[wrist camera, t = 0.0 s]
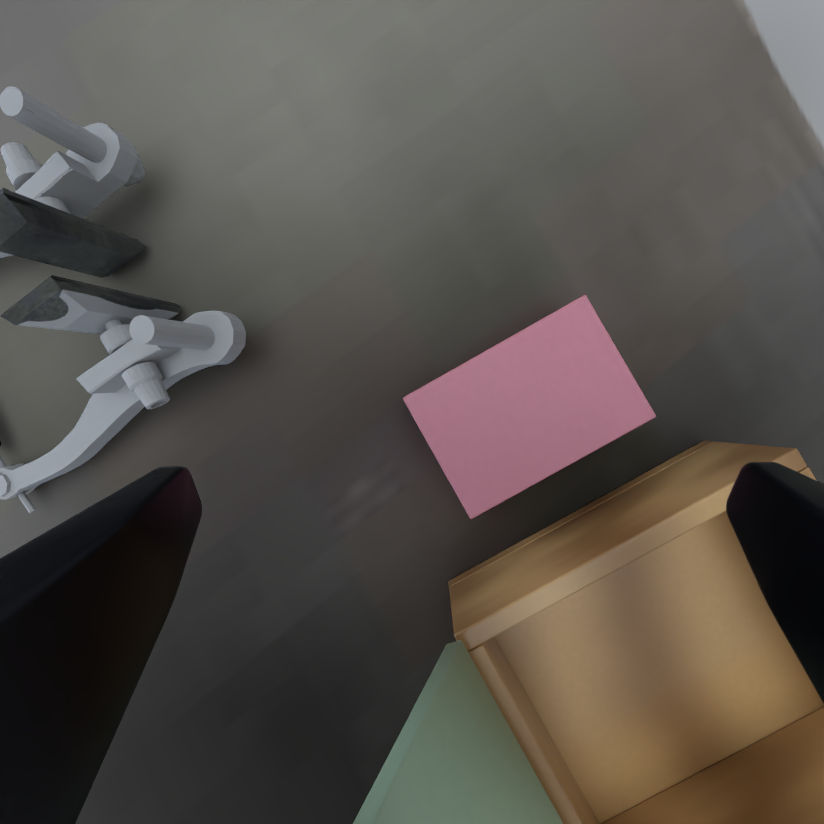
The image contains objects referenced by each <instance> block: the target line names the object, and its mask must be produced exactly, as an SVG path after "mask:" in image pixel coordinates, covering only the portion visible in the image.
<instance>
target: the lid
mask: <svg viewBox="0 0 824 824" xmlns="http://www.w3.org/2000/svg"><path fill="white" fill-rule="evenodd" d="M353 824H563V822H562V820H561V818H560V816H559V815H558V813H557V811H556V809H555V807H554V806H553V804H552V802H551V800H550V799H549V797H548V795H547V793H546V791H545V790H544V788H543V786H542V784H541V782H540V781H539V779H538V777H537V775H536V773H535V772H534V770H533V768H532V766H531V764H530V763H529V761H528V759H527V757H526V755H525V754H524V752H523V750H522V748H521V746H520V745H519V743H518V741H517V739H516V737H515V736H514V734H513V732H512V730H511V728H510V727H509V725H508V723H507V721H506V719H505V718H504V716H503V714H502V712H501V710H500V709H499V707H498V705H497V703H496V701H495V700H494V698H493V696H492V694H491V693H490V691H489V689H488V687H487V685H486V684H485V682H484V680H483V678H482V676H481V675H480V673H479V671H478V669H477V667H476V666H475V664H474V662H473V660H472V658H471V657H470V655H469V653H468V651H467V649H466V648H465V646H464V644H463V642H462V641H461V640H459V641H455V642H452V643H448V644H446V646H445V648H444V650H443V651H442V653H441V655H440V657H439V659H438V661H437V663H436V665H435V667H434V669H433V671H432V673H431V675H430V676H429V678H428V680H427V682H426V684H425V686H424V688H423V690H422V692H421V694H420V696H419V698H418V700H417V701H416V703H415V705H414V707H413V709H412V711H411V713H410V715H409V717H408V719H407V721H406V723H405V725H404V726H403V728H402V730H401V732H400V734H399V736H398V738H397V740H396V742H395V744H394V746H393V748H392V750H391V751H390V753H389V755H388V757H387V759H386V761H385V763H384V765H383V767H382V769H381V771H380V773H379V775H378V776H377V778H376V780H375V782H374V784H373V786H372V788H371V790H370V792H369V794H368V796H367V798H366V800H365V801H364V803H363V805H362V807H361V809H360V811H359V813H358V815H357V817H356V819H355V821H354V823H353Z"/></svg>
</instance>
